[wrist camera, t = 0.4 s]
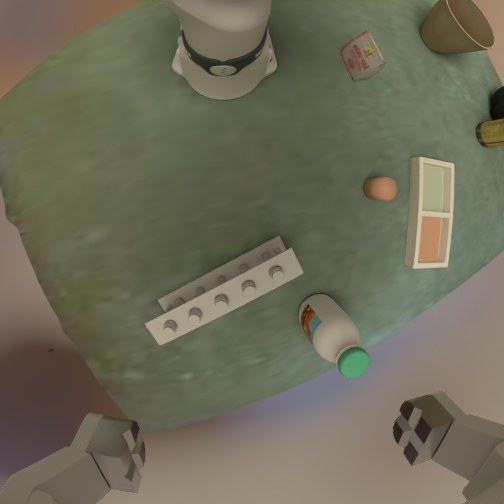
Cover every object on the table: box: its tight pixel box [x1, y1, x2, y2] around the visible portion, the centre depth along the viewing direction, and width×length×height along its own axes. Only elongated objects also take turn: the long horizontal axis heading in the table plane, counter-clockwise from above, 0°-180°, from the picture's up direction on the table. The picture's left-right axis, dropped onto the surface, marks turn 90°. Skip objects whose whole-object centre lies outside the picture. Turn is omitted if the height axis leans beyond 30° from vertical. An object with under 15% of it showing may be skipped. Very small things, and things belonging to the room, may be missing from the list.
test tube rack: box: [145, 236, 303, 345], centre depth 47 cm, size 25×4×13 cm, turn 118°
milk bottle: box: [298, 294, 370, 378], centre depth 47 cm, size 8×8×20 cm
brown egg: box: [363, 177, 397, 200], centre depth 50 cm, size 4×4×6 cm
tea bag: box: [340, 30, 385, 81], centre depth 42 cm, size 4×7×10 cm, turn 21°
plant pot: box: [421, 0, 495, 53], centre depth 38 cm, size 15×15×16 cm
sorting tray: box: [404, 157, 454, 269], centre depth 53 cm, size 22×10×4 cm, turn 179°
